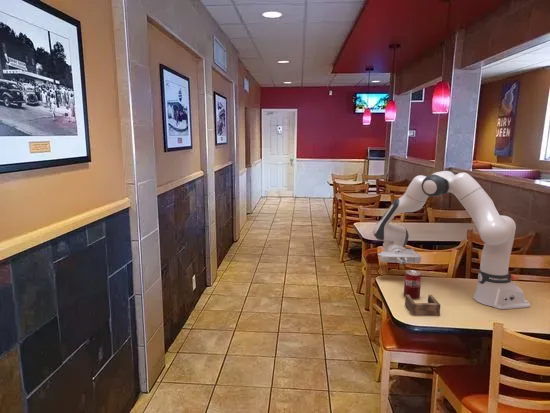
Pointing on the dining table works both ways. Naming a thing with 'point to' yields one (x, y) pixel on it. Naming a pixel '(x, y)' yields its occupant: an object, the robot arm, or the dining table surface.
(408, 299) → the brown wooden u-shaped frame
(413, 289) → the soda can
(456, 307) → the dining table surface
